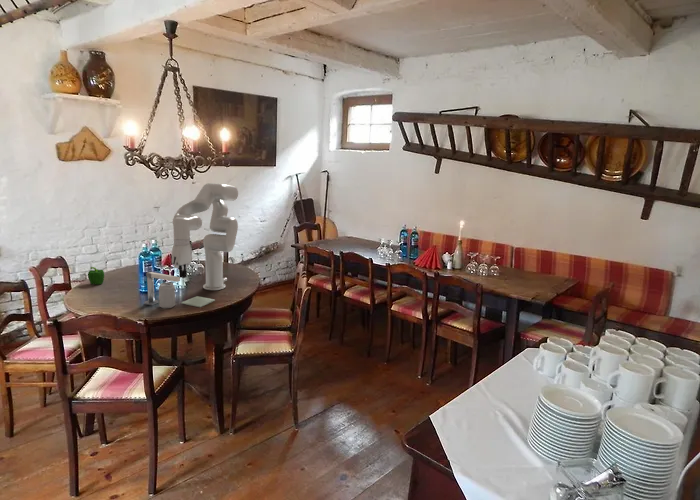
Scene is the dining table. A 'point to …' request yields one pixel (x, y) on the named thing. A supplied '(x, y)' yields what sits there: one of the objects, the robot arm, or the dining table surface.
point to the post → (151, 292)
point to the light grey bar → (163, 276)
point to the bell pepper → (96, 276)
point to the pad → (198, 301)
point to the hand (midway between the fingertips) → (182, 277)
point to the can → (166, 295)
